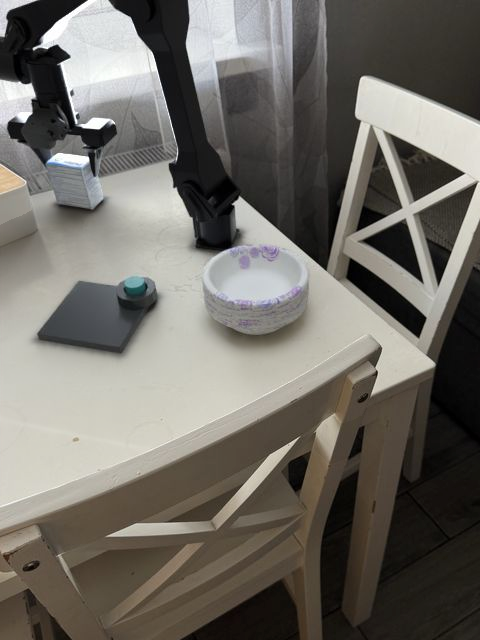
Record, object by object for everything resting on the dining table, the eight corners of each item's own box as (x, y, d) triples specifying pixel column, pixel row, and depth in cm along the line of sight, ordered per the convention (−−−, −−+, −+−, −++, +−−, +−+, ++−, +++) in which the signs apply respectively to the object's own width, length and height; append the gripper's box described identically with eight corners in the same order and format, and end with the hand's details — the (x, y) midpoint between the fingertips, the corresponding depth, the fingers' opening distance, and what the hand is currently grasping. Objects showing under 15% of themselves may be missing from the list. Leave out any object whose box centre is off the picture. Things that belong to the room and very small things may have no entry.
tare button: (149, 285, 91) (147, 277, 90) (141, 297, 89) (139, 289, 88) (130, 282, 91) (129, 274, 90) (122, 294, 89) (120, 286, 88)
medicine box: (104, 199, 116) (94, 157, 110) (92, 210, 113) (81, 168, 107) (69, 193, 118) (57, 151, 112) (57, 204, 115) (44, 162, 109)
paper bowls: (281, 273, 96) (281, 231, 91) (326, 330, 86) (328, 286, 81) (192, 299, 92) (186, 256, 87) (228, 361, 82) (224, 317, 77)
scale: (163, 294, 93) (161, 279, 91) (127, 354, 84) (123, 338, 82) (83, 282, 96) (78, 267, 94) (39, 339, 86) (33, 324, 84)
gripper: (-26, 102, 97) (5, 189, 107) (78, 110, 93) (100, 200, 103) (11, 78, 104) (37, 161, 115) (109, 84, 100) (126, 170, 111)
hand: (73, 173), depth 111 cm, fingers open, 9 cm apart
